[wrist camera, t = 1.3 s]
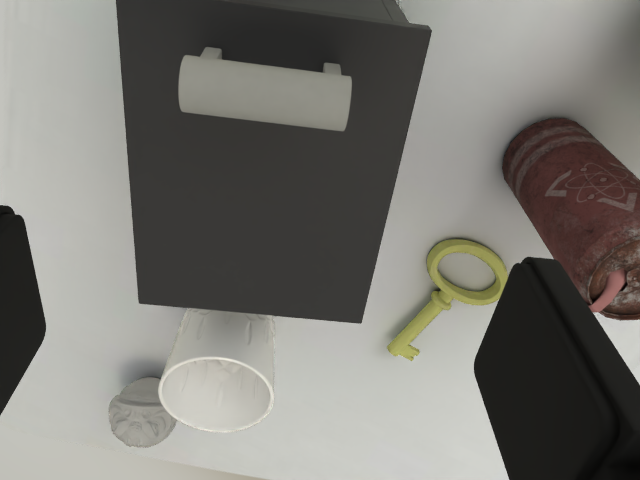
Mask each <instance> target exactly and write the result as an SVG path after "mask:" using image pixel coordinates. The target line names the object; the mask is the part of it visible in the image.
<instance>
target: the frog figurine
mask: <svg viewBox="0 0 640 480" xmlns="http://www.w3.org/2000/svg"><path fill="white" fill-rule="evenodd" d="M160 380H161V379H158V378H154V377H145V378H141V379H138V380H136V381H134V382H132V383H131V384H130V385H129V386H126V387H125V388H124V389H123V390H122V391H121V393H120V395H117V396H115V397H114V398H113V400H112V401H111V403H110V405H109V420H110V424H111V429H112V431H113V434H115V436H116V437H117V438H118V439H120V440H122V441H123V442H124V443H125V444H126V445H128V446H130V447H131V446H134V447H145V448H146V447H151V446H154V445H156V444H158V443H160V442H161V441H163V440H164V439H165V438H167V437H168V436H169V434H170V433H171V432H172V430H173V429H174V427H175V424H176V421H177V420H176V419H175V418H174V417H172V416H171V415H170V414H169V413H168V412H167V411H166V410H165V408H164V407H163V405H162V404H161V402H160V399H159V395H158V387H159V383H160Z"/></svg>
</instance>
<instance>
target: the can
mask: <svg viewBox="0 0 640 480" xmlns="http://www.w3.org/2000/svg"><path fill="white" fill-rule="evenodd" d="M502 169H503V174H504V179H505V181H506V182H507V184H508V186H509V187H510V189H511V190H512V192H513V194H514V195H515V197H516V198H517V200H518V202H519V203H520V205H521V206H522V208H523V210H524V211H525V213H526V214H527V216H528V218H529V219H530V221H531V222H532V224H533V226H534V227H535V229H536V230H537V232H538V234H539V235H540V237H541V238H542V240H543V242H544V243H545V245H546V246H547V248H548V250H549V251H550V253H551V254H552V256H553V258H554V259H555V260H558V261H559V262H560V263H561V265H562V266H563V268H564V270H565V271H566V273H567V274H568V276H569V277H570V279H571V280H572V282H573V283H574V285H575V286H576V288H577V290H578V291H579V293H580V294H581V296H582V297H583V299H584V300H585V302H586V303H587V305H588V306H589V308H590V309H591V311H592V312H599V313H600V314H602V315H604V316H605V317H608V318H612V319H617V320H638V319H640V180H639V179H638V178H637V177H636V176H635V175H634V174H633V173H632V172H631V171H630V170H628V169H627V168H626V167H625V166H624V165H623V164H622V163H621V162H620V161H619V160H618V159H617V158H616V157H615V156H614V155H613V154H611V153H610V152H609V151H608V150H607V149H606V148H605V147H604V146H603V145H602V144H601V143H600V142H599V141H598V140H597V139H596V138H595V137H593V136H592V135H591V134H590V133H589V132H588V131H587V130H586V129H585V128H584V127H582V126H581V125H580V124H578V123H577V122H575V121H572V120H568V119H565V118H555V119H547V120H544V121H541V122H537V123H534V124H533V125H531V126H529V127H528V128H526V129H525V130H523V131H522V132H521V133H520V134H519V135H518V136H517V137H516V138H515V139H514V140H513V141H512V142H511V144H510V146H509V148H508V149H507V151H506V153H505V155H504V161H503V166H502Z"/></svg>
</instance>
